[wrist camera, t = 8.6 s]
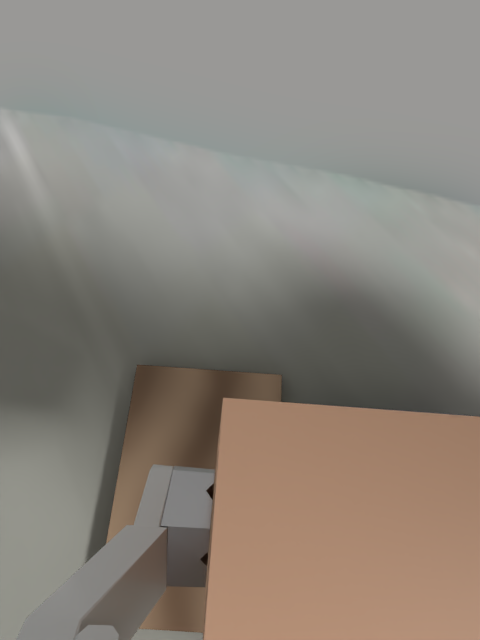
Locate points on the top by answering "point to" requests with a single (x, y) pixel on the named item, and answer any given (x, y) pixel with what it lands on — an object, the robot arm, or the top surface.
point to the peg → (344, 524)
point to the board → (177, 454)
